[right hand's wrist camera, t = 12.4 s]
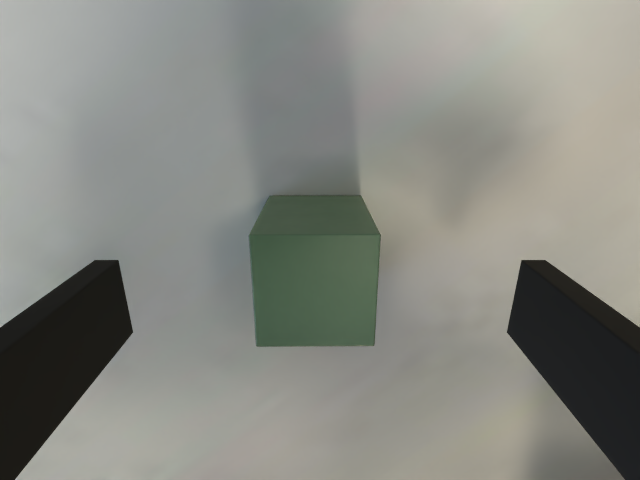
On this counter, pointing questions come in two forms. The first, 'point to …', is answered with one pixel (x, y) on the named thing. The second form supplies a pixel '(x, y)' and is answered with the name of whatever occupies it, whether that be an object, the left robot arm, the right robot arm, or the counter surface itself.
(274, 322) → the green block
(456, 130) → the counter surface
